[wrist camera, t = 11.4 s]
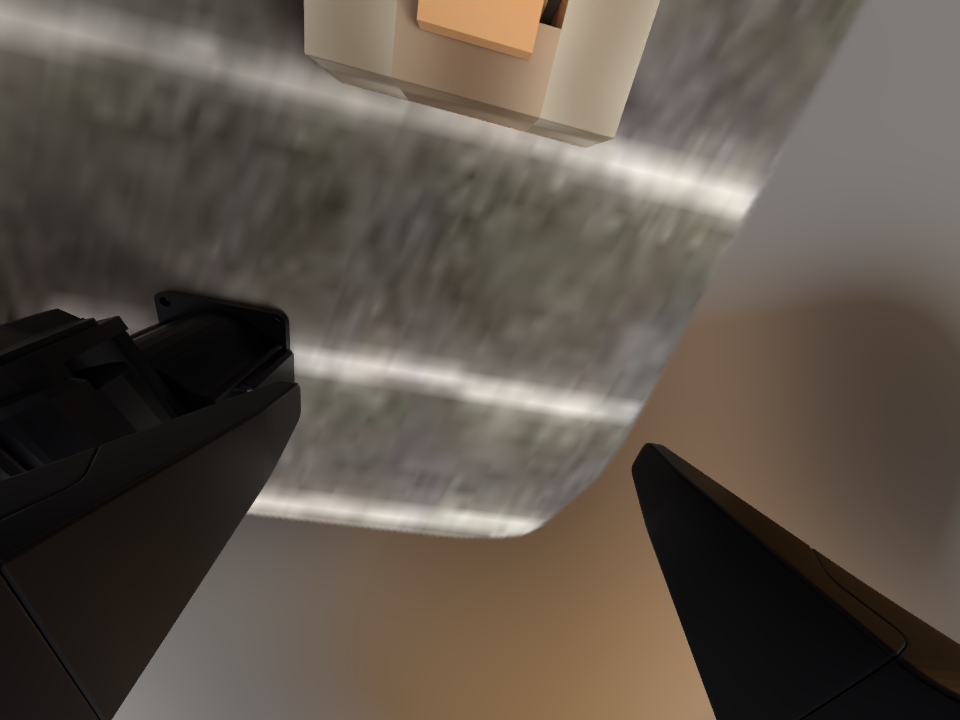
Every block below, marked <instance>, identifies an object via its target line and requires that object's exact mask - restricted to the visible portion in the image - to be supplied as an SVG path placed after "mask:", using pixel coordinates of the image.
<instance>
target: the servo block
mask: <svg viewBox="0 0 960 720" xmlns="http://www.w3.org/2000/svg"><path fill="white" fill-rule="evenodd" d="M547 2H548V0H419V1H418V11H417V22H418V25H419V27H420V29H423V30H426V31H430V32H433V33H436V34H440V35H443V36H447V37H450V38H454V39H457V40H460V41H464V42H467V43H471V44H474V45H478V46H481V47H484V48H488V49H491V50H495V51H498V52H502V53H505V54H508V55H512V56H515V57H519V58H522V59H526V60H529V59H530V57H531V55H532V52H533V48H534V43H535V39H536V34H537V29H538V25H539V22H540V20H541V17H542V15H543V12H544V10H545V7H546V5H547Z"/></svg>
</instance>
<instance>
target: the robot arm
mask: <svg viewBox="0 0 960 720" xmlns="http://www.w3.org/2000/svg"><path fill="white" fill-rule="evenodd" d="M166 298H167V299H168V300H169V301H170V303H168V302H167V300H166ZM154 300H155V305H156V309H157V314H158V319H159V323H157V324H155V325H153V326H151V327H148V328H146V329H144V330H141V331H139V332H137V333H134V334H132V335H130V336H129V334H128V333H127V332H126V330H127V329H128V327H127V326H126V325H125V323H124V322H123V321H122V319H121V318H120V317H119V316H115V317H111V318H107V319H103V320H98V321H96V320H95V319H94V318H90V319H84V318H81V319H80V318H78V317H76V316H74V315H71V314H69V313H67V312H64V311H62V310H60V309H54V310H49V311H45V312H41V313H38V314H35V315H31V316H28V317H24V318H21V319H18V320H14V321H11V322H7V323H4V324H1V325H0V720H112V718H113V717H114V715H115V714H116V712H117V711H118V709H119V708H120V706H121V704H122V703H123V701H124V700H125V698H126V697H127V695H128V694H129V692H130V691H131V689H132V687H133V686H134V685H135V683H136V682H137V680H138V678H139V677H140V675H141V674H142V672H143V671H144V669H145V667H146V666H147V665H148V663H149V662H150V660H151V658H152V657H153V655H154V654H155V652H156V651H157V649H158V648H159V646H160V644H161V643H162V642H163V640H164V638H165V637H166V636H167V634H168V632H169V631H170V629H171V628H172V626H173V625H174V623H175V622H176V620H177V619H178V617H179V615H180V614H181V612H182V611H183V609H184V608H185V606H186V605H187V603H188V602H189V600H190V599H191V597H192V595H193V594H194V593H195V591H196V590H197V588H198V587H199V585H200V583H201V582H202V580H203V579H204V577H205V576H206V574H207V573H208V571H209V570H210V568H211V567H212V565H213V564H214V562H215V560H216V559H217V557H218V556H219V554H220V553H221V551H222V550H223V548H224V547H225V545H226V544H227V542H228V541H229V539H230V538H231V536H232V534H233V533H234V531H235V530H236V528H237V527H238V525H239V524H240V522H241V521H242V519H243V518H244V516H245V515H246V513H247V511H248V510H249V508H250V507H251V505H252V504H253V502H254V501H255V499H256V498H257V496H258V495H259V493H260V492H261V490H262V488H263V487H264V485H265V484H266V482H267V481H268V479H269V477H270V476H271V474H272V472H273V470H274V468H275V467H276V465H277V463H278V461H279V459H280V457H281V455H282V453H283V451H284V449H285V447H286V445H287V443H288V441H289V439H290V437H291V435H292V433H293V431H294V429H295V427H296V425H297V423H298V420H299V418H300V413H301V395H300V386H299V384H298V383H295V382H294V354H293V352H292V351H291V350H290V336H289V320H288V317H287V316H286V315H285V314H284V313H282V312H279V311H274V310H269V309H264V308H258V307H253V306H248V305H243V304H237V303H232V302H227V301H222V300H216V299H211V298H206V297H201V296H195V295H190V294H185V293H180V292H174V291H169V290H165V291H162V292H159V293H157V294H156V295H155V297H154ZM275 318H276V319H278V320H279V321H280V323H281V324H278V323H276V322H275ZM632 476H633V480H634V484H635V487H636V491H637V495H638V499H639V503H640V507H641V511H642V514H643V518H644V522H645V525H646V528H647V531H648V534H649V537H650V540H651V543H652V545H653V548H654V551H655V554H656V556H657V559H658V562H659V564H660V567H661V570H662V573H663V575H664V578H665V581H666V583H667V586H668V589H669V592H670V595H671V597H672V600H673V603H674V605H675V608H676V611H677V613H678V616H679V619H680V622H681V625H682V627H683V630H684V632H685V635H686V638H687V641H688V644H689V646H690V649H691V652H692V654H693V657H694V660H695V663H696V665H697V668H698V671H699V673H700V676H701V679H702V682H703V685H704V687H705V690H706V692H707V695H708V698H709V701H710V704H711V706H712V709H713V712H714V715H715V717H716V720H960V644H959V643H957V642H955V641H954V640H952V639H951V638H949V637H947V636H946V635H944V634H943V633H941V632H940V631H938V630H936V629H935V628H934V627H932V626H930V625H929V624H927V623H926V622H924V621H922V620H921V619H919V618H918V617H916V616H915V615H913V614H912V613H910V612H908V611H907V610H905V609H904V608H902V607H900V606H899V605H898V604H896V603H894V602H893V601H891V600H890V599H888V598H887V597H885V596H884V595H882V594H881V593H879V592H878V591H876V590H875V589H873V588H871V587H870V586H868V585H867V584H865V583H864V582H862V581H861V580H859V579H858V578H856V577H855V576H853V575H852V574H850V573H849V572H847V571H846V570H844V569H843V568H841V567H840V566H838V565H837V564H836V563H834V562H833V561H831V560H830V559H828V558H826V557H825V556H824V555H822V554H821V553H819V552H818V551H816V550H815V549H811V548H810V546H809V545H808V544H806V543H805V542H803V541H802V540H800V539H799V538H797V537H796V536H794V535H793V534H792V533H790V532H789V531H787V530H785V529H784V528H783V527H781V526H780V525H778V524H777V523H776V522H774V521H773V520H771V519H770V518H768V517H767V516H765V515H764V514H762V513H761V512H759V511H758V510H757V509H755V508H754V507H752V506H751V505H749V504H748V503H746V502H745V501H743V500H742V499H740V498H739V497H738V496H736V495H735V494H733V493H732V492H730V491H729V490H727V489H726V488H724V487H723V486H721V485H720V484H718V483H717V482H715V481H714V480H713V479H711V478H710V477H708V476H707V475H705V474H704V473H702V472H701V471H700V470H698V469H697V468H695V467H694V466H692V465H691V464H689V463H688V462H686V461H685V460H684V459H682V458H681V457H679V456H678V455H676V454H675V453H673V452H672V451H670V450H669V449H667V448H666V447H665V446H663V445H660V444H654V443H646V444H644V445H643V447H642V449H641V451H640V452H639V454H638V456H637V458H636V459H635V461H634V463H633V465H632Z"/></svg>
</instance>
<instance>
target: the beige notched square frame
mask: <svg viewBox="0 0 960 720" xmlns="http://www.w3.org/2000/svg"><path fill="white" fill-rule="evenodd" d="M418 1H419V0H304V52H305V54H306V55H307V56H309V57H310V58H311V59H312V60H314V61H315V62H316V63H318V64H319V65H320V66H321V67H323V68H324V69H325V70H326V71H328V72H329V73H330V74H331V75H333V76H334V77H335V78H337V79H338V80H339V81H340V82H342V83H346V84H350V85H353V86H357V87H361V88H365V89H368V90H372V91H376V92H379V93H383V94H387V95H391V96H394V97H398V98H402V99H405V100H409V101H413V102H417V103H420V104H424V105H428V106H432V107H435V108H439V109H443V110H446V111H450V112H454V113H458V114H461V115H465V116H469V117H473V118H476V119H480V120H484V121H487V122H491V123H495V124H499V125H502V126H506V127H510V128H514V129H517V130H521V131H525V132H528V133H532V134H536V135H540V136H543V137H547V138H551V139H554V140H558V141H562V142H566V143H569V144H573V145H577V146H581V147H584V148H587V147H590V146H593V145H595V144H598V143H601V142H604V141H607V140H610V139H613V138H614V137H615V134H616V131H617V128H618V125H619V122H620V119H621V116H622V113H623V110H624V107H625V104H626V101H627V98H628V95H629V92H630V89H631V86H632V83H633V80H634V77H635V74H636V71H637V68H638V65H639V62H640V59H641V56H642V53H643V50H644V47H645V44H646V41H647V38H648V35H649V32H650V29H651V26H652V23H653V20H654V17H655V14H656V11H657V8H658V5H659V2H660V0H561V2H560V5H559V7H558V9H557V11H556V13H555V15H554V17H553V19H552V23H551V26H549V25H546V24H542V23H539V25H538V29H537V34H536V39H535V43H534V48H533V52H532V55H531V57H530V59H529V60H526V59H522V58H519V57H515V56H512V55H508V54H505V53H502V52H498V51H495V50H491V49H488V48H484V47H481V46H478V45H474V44H471V43H467V42H464V41H460V40H457V39H454V38H450V37H447V36H443V35H440V34H436V33H433V32H430V31H426V30H423V29H420V27H419V25H418V22H417V11H418Z"/></svg>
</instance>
